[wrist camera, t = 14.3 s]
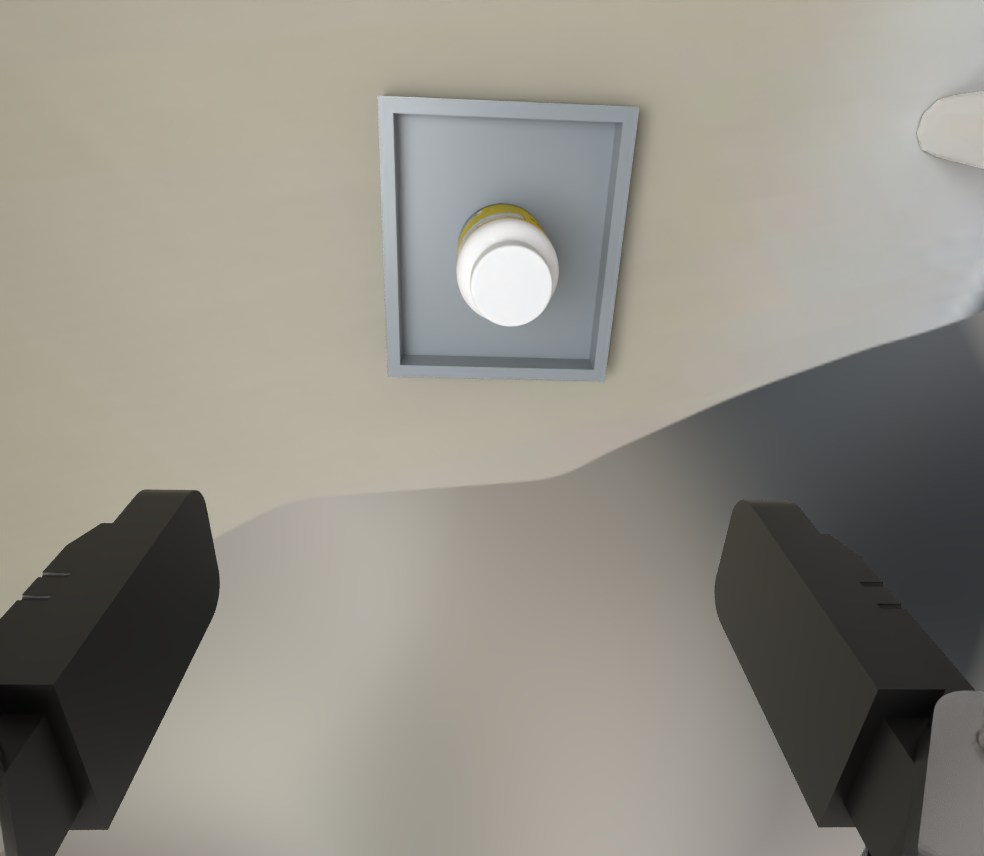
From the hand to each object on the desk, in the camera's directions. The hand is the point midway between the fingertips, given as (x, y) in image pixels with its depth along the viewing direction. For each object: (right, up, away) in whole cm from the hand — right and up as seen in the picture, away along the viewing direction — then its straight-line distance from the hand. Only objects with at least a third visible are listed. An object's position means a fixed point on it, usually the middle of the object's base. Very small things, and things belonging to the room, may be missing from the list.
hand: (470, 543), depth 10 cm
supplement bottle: (+1, +13, +30) cm, 33 cm away
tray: (+1, +13, +31) cm, 33 cm away
